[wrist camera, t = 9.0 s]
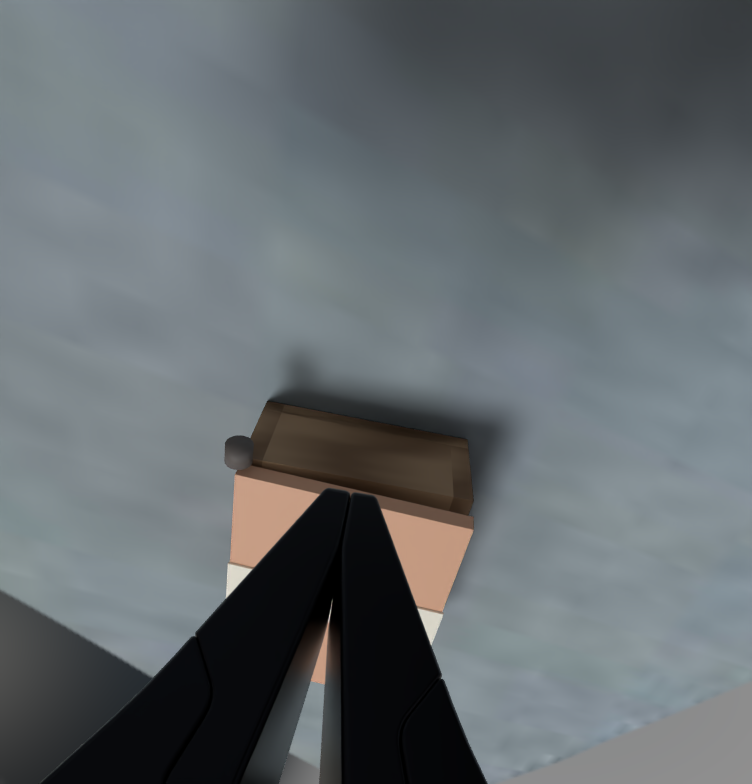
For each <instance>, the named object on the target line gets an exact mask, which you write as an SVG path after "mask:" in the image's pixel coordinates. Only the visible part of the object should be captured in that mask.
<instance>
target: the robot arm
mask: <svg viewBox="0 0 752 784" xmlns="http://www.w3.org/2000/svg"><path fill="white" fill-rule="evenodd" d="M331 605H332V607H331ZM330 611H331V613H330ZM329 616H330V620H329ZM328 620H329V627H328V639H327V655H326V672H325V690H324V707H323V725H322V742H321V760H320V778H319V784H488V783H487V781H486V779H485V777H484V775H483V773H482V771H481V768H480V766H479V764H478V762H477V760H476V758H475V756H474V753H473V751H472V749H471V747H470V745H469V743H468V740H467V738H466V735H465V733H464V730H463V728H462V725H461V723H460V720H459V718H458V715H457V713H456V710H455V708H454V705H453V703H452V700H451V697H450V695H449V692H448V689H447V686H446V684H445V681H444V680H443V679H441V677H442V673H441V671H440V668H439V665H438V663H437V660H436V657H435V654H434V652H433V649H432V646H431V644H430V641H429V638H428V635H427V633H426V630H425V627H424V625H423V622H422V619H421V616H420V614H419V611H418V608H417V606H416V603H415V600H414V597H413V595H412V592H411V589H410V586H409V584H408V581H407V578H406V576H405V573H404V570H403V567H402V565H401V562H400V559H399V557H398V554H397V551H396V548H395V546H394V543H393V540H392V538H391V535H390V532H389V529H388V527H387V524H386V521H385V518H384V516H383V513H382V510H381V508H380V505H379V502H378V500H377V498H376V497H375V496H374V495H369V494H363V493H358V492H354V493H352V494H351V496H350V493H349V492H348V491H346V490H340V489H334V488H326V489H325V490H323V491H322V493H321V494H320V495H319V496H318V497H317V498H316V499H315V500H314V501H313V503H312V504H311V505H310V506H309V507H308V508H307V509H306V510H305V511H304V513H303V514H302V515H301V516H300V517H299V518H298V519H297V520H296V521H295V523H294V524H293V525H292V526H291V527H290V528H289V529H288V530H287V531H286V533H285V534H284V535H283V536H282V537H281V538H280V539H279V540H278V541H277V542H276V544H275V545H274V546H273V547H272V548H271V549H270V550H269V551H268V552H267V554H266V555H265V556H264V557H263V558H262V559H261V560H260V561H259V562H258V564H257V565H256V566H255V567H254V568H253V569H252V570H251V571H250V572H249V574H248V575H247V576H246V577H245V578H244V579H243V580H242V581H241V582H240V584H239V585H238V586H237V587H236V588H235V589H234V590H233V591H232V592H231V594H230V595H229V596H228V597H227V598H226V599H225V600H224V601H223V602H222V604H221V605H220V606H219V607H218V608H217V609H216V610H215V611H214V612H213V614H212V615H211V616H210V617H209V618H208V619H207V620H206V621H205V622H204V624H203V625H202V626H201V627H200V628H199V629H198V630H197V631H196V633H195V637H194V636H192V637H191V638H190V639H189V640H188V641H187V642H186V643H185V644H184V645H183V646H182V648H181V649H180V650H179V651H178V652H177V653H176V654H175V655H174V656H173V658H172V659H171V660H170V661H169V662H168V663H167V664H166V665H165V666H164V667H163V668H162V669H161V670H160V671H159V672H158V673H157V674H156V675H155V676H154V677H153V678H152V680H151V681H150V682H149V683H148V684H147V685H146V686H145V687H144V688H143V689H142V690H141V691H140V692H139V693H138V694H136V696H134V697H133V698H132V699H131V700H130V701H129V702H128V703H127V704H126V705H125V706H124V707H123V708H122V709H121V710H120V711H118V712H117V713H116V714H115V715H114V716H113V717H112V718H111V719H110V720H109V721H108V722H107V723H106V724H105V725H103V726H102V727H101V728H100V729H99V730H98V731H97V732H96V733H95V734H93V735H92V736H91V737H90V738H89V739H88V740H87V741H86V742H85V743H83V744H82V745H81V746H80V747H79V748H78V749H77V750H76V751H74V753H72V754H71V755H70V756H69V757H68V758H67V759H66V760H65V761H63V762H62V763H61V764H60V765H59V766H58V767H57V768H56V769H55V770H54V771H52V772H51V773H50V774H49V775H48V776H47V777H46V778H45V779H43V780H42V781H41V782H40V783H39V784H279V782H280V778H281V775H282V772H283V769H284V765H285V762H286V759H287V756H288V753H289V749H290V746H291V743H292V740H293V736H294V733H295V730H296V727H297V723H298V720H299V717H300V714H301V711H302V707H303V704H304V701H305V698H306V694H307V691H308V688H309V685H310V681H311V678H312V675H313V672H314V669H315V665H316V662H317V659H318V656H319V652H320V649H321V646H322V643H323V639H324V636H325V632H326V629H327V625H328Z"/></svg>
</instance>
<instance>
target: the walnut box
mask: <svg viewBox="0 0 752 784" xmlns="http://www.w3.org/2000/svg"><path fill="white" fill-rule="evenodd" d="M225 464H226V465H227V466H228V467H229V468H231V469H235V470H243V469H246V468H248V467H250V466H255V467H260V468H264V469H268V470H273V471H277V472H281V473H286V474H290V475H294V476H299V477H303V478H307V479H312V480H316V481H320V482H324V483H329V484H333V485H337V486H342V487H346V488H350V489H355V490H359V491H363V492H368V493H372V494H376V495H381V496H385V497H389V498H393V499H398V500H402V501H406V502H411V503H415V504H419V505H424V506H428V507H432V508H437V509H441V510H445V511H450V512H454V513H458V514H463V515H467V516H468V515H469V512H470V509H471V507H472V504H473V501H474V499H473V489H472V479H471V469H470V460H469V450H468V440H467V439H462V438H457V437H452V436H446V435H441V434H436V433H431V432H426V431H421V430H415V429H410V428H405V427H400V426H395V425H389V424H384V423H379V422H374V421H369V420H364V419H358V418H353V417H348V416H343V415H338V414H333V413H327V412H322V411H317V410H312V409H307V408H301V407H296V406H291V405H286V404H281V403H276V402H270V401H267V403H266V405H265V407H264V409H263V411H262V414H261V416H260V418H259V420H258V422H257V425H256V427H255V429H254V431H253V433H252V436H251V438H248V437H246V436H233V437H230V438H229V439H227V441H226V442H225Z"/></svg>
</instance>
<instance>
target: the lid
mask: <svg viewBox="0 0 752 784" xmlns="http://www.w3.org/2000/svg"><path fill="white" fill-rule="evenodd" d="M326 488H334V489H340V490H346V491H348V492H349V493H350V496H351V494H352V493H354V492H358V493H363V494H369V495H374V496H375V497H376V498H377V500H378V502H379V505H380V508H381V510H382V513H383V516H384V518H385V521H386V524H387V527H388V529H389V532H390V535H391V538H392V540H393V543H394V546H395V548H396V551H397V554H398V557H399V559H400V562H401V565H402V567H403V570H404V573H405V576H406V578H407V581H408V584H409V586H410V589H411V592H412V595H413V597H414V600H415V603H416V606H417V608H418V611H419V614H420V616H421V619H422V622H423V625H424V627H425V630H426V633H427V635H428V638H429V641H430V644H431V645H432V642H433V640H434V637H435V635H436V632H437V629H438V627H439V624H440V622H441V619H442V617H443V612H442V611H443V608H444V606H445V603H446V601H447V598H448V595H449V593H450V590H451V588H452V585H453V582H454V580H455V577H456V575H457V572H458V569H459V567H460V564H461V562H462V559H463V556H464V554H465V551H466V549H467V546H468V543H469V541H470V538H471V536H472V533H473V530H474V521H473V517H471V516H467V515H463V514H458V513H454V512H450V511H445V510H441V509H437V508H432V507H428V506H424V505H419V504H415V503H411V502H406V501H402V500H398V499H393V498H389V497H385V496H381V495H376V494H372V493H368V492H363V491H359V490H355V489H350V488H346V487H342V486H337V485H333V484H329V483H324V482H320V481H316V480H312V479H307V478H303V477H299V476H294V475H290V474H286V473H281V472H277V471H273V470H268V469H264V468H260V467H255V466H250V467H248V468H246V469H243V470H237V472H236V474H235V484H234V502H233V520H232V538H231V556H230V562H229V563H228V572H227V591H226V598H227V597H228V596H229V595H230V594H231V592H232V591H233V590H234V589H235V588H236V587H237V586H238V585H239V584H240V582H241V581H242V580H243V579H244V578H245V577H246V576H247V575H248V574H249V572H250V571H251V570H252V569H253V568H254V567H255V566H256V565H257V564H258V562H259V561H260V560H261V559H262V558H263V557H264V556H265V555H266V554H267V552H268V551H269V550H270V549H271V548H272V547H273V546H274V545H275V544H276V542H277V541H278V540H279V539H280V538H281V537H282V536H283V535H284V534H285V533H286V531H287V530H288V529H289V528H290V527H291V526H292V525H293V524H294V523H295V521H296V520H297V519H298V518H299V517H300V516H301V515H302V514H303V513H304V511H305V510H306V509H307V508H308V507H309V506H310V505H311V504H312V503H313V501H314V500H315V499H316V498H317V497H318V496H319V495H320V494H321V493H322V491H323V490H325V489H326ZM331 607H332V605H331ZM330 613H331V611H330ZM329 620H330V616H329ZM329 620H328V625H327V629H326V632H325V636H324V639H323V643H322V646H321V649H320V652H319V656H318V659H317V662H316V665H315V669H314V672H313V675H312V678H311V681H313V682H317V683H321V684H325V672H326V655H327V639H328V627H329Z"/></svg>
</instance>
